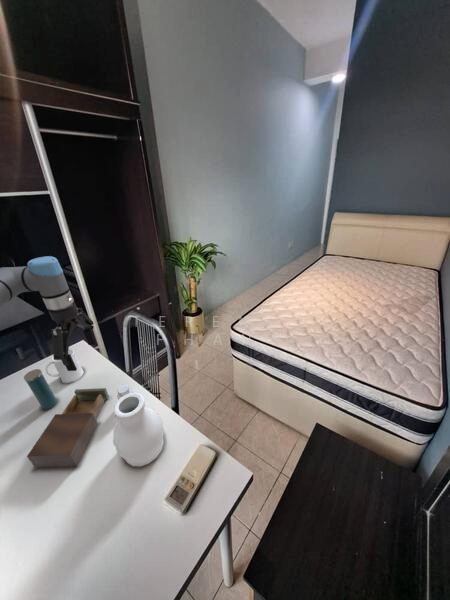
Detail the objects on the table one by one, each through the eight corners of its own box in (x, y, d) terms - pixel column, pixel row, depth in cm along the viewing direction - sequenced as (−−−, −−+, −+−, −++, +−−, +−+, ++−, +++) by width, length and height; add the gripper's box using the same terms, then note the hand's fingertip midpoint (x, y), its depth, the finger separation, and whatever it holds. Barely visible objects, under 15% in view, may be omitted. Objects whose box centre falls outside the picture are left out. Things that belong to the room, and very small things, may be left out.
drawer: (81, 395, 96) (77, 386, 93) (110, 394, 95) (107, 385, 93) (61, 428, 84) (55, 419, 81) (94, 427, 83) (89, 418, 81)
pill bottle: (129, 397, 95) (124, 380, 91) (139, 402, 92) (133, 385, 88) (118, 407, 91) (111, 390, 87) (127, 413, 88) (121, 396, 84)
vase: (138, 482, 68) (120, 439, 59) (111, 452, 76) (90, 409, 67) (176, 441, 78) (165, 398, 69) (148, 418, 86) (135, 377, 77)
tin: (42, 403, 94) (24, 373, 87) (57, 397, 97) (41, 367, 89) (42, 413, 90) (23, 382, 83) (58, 406, 93) (40, 375, 85)
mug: (52, 390, 100) (40, 368, 94) (53, 376, 107) (42, 355, 101) (84, 378, 105) (74, 356, 99) (83, 366, 111) (74, 345, 106)
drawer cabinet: (62, 426, 85) (55, 414, 82) (98, 425, 85) (92, 412, 82) (36, 469, 73) (26, 456, 70) (77, 467, 73) (70, 454, 70)
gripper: (47, 327, 67) (73, 383, 77) (92, 287, 89) (108, 334, 99) (20, 328, 68) (50, 383, 78) (72, 288, 89) (90, 335, 100)
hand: (83, 356), depth 89 cm, fingers open, 13 cm apart
